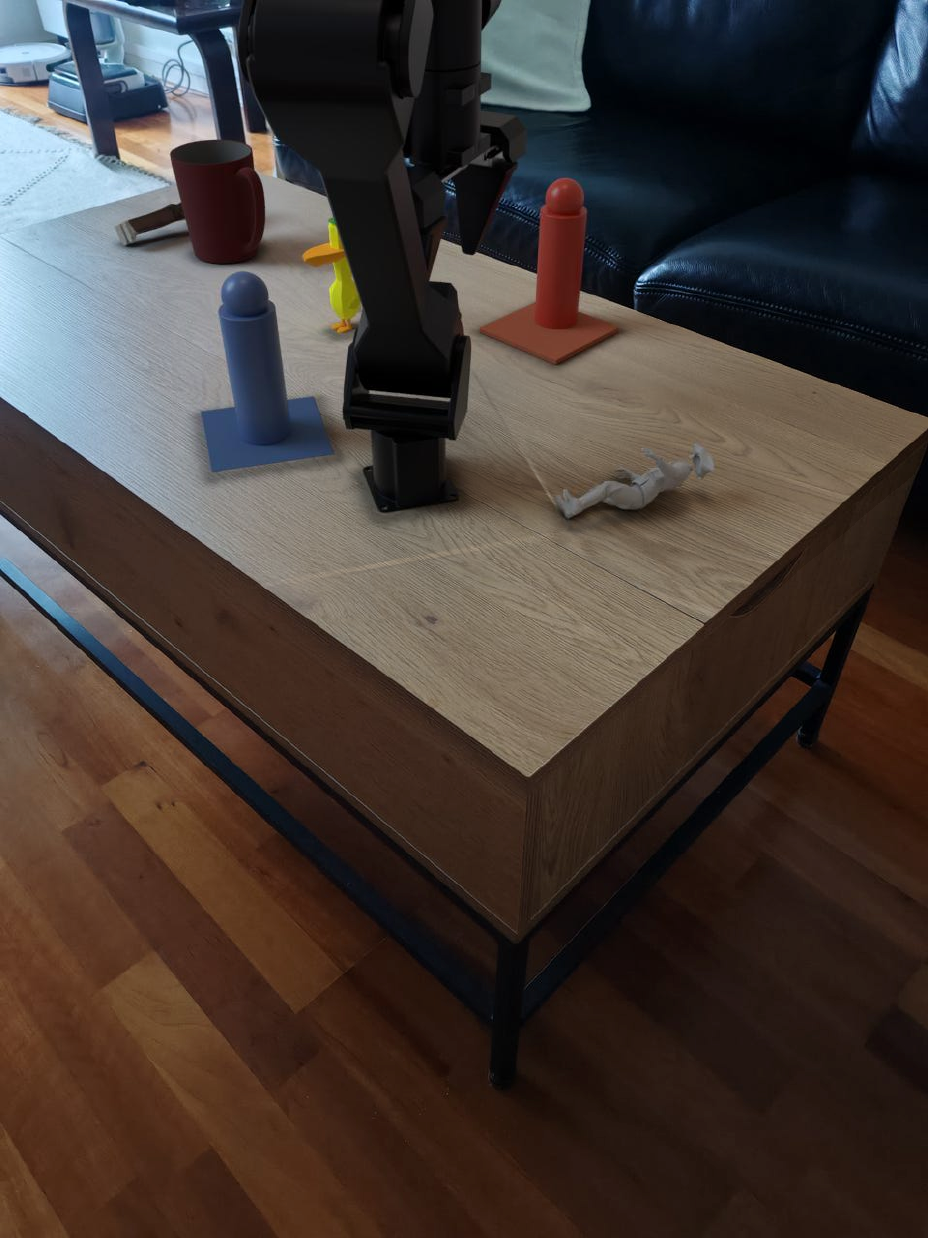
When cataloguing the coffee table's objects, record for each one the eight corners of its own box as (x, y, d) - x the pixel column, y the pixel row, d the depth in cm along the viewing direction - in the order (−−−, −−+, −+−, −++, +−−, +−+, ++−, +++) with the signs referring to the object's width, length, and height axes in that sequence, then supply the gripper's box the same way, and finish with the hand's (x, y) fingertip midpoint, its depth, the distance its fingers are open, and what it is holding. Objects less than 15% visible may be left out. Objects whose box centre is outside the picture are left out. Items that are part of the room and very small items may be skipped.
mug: (299, 257, 112) (288, 156, 105) (239, 280, 107) (223, 176, 100) (232, 232, 118) (218, 134, 111) (172, 252, 113) (153, 152, 106)
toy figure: (322, 347, 95) (310, 223, 87) (303, 335, 98) (289, 212, 90) (378, 329, 99) (372, 207, 91) (359, 317, 101) (350, 197, 93)
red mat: (555, 364, 93) (555, 359, 93) (479, 332, 98) (479, 327, 98) (618, 331, 99) (619, 326, 98) (543, 302, 104) (543, 297, 103)
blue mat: (334, 458, 81) (334, 453, 80) (212, 477, 78) (211, 471, 78) (314, 400, 88) (313, 395, 87) (201, 416, 86) (200, 411, 85)
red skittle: (586, 322, 99) (599, 181, 90) (551, 332, 97) (561, 189, 88) (560, 306, 102) (570, 168, 92) (526, 316, 100) (533, 175, 91)
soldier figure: (544, 502, 78) (668, 428, 79) (575, 554, 78) (698, 479, 79) (566, 486, 70) (702, 404, 71) (600, 544, 70) (736, 461, 72)
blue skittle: (295, 441, 82) (274, 281, 72) (242, 448, 81) (214, 287, 72) (287, 415, 85) (266, 258, 76) (236, 422, 84) (209, 264, 75)
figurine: (152, 275, 113) (259, 234, 120) (143, 233, 109) (254, 193, 116) (116, 244, 116) (222, 206, 123) (106, 202, 112) (216, 165, 119)
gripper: (405, 21, 78) (412, 218, 88) (271, 79, 65) (298, 300, 76) (533, 36, 74) (524, 240, 85) (416, 101, 62) (423, 330, 72)
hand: (444, 274), depth 79 cm, fingers open, 9 cm apart
